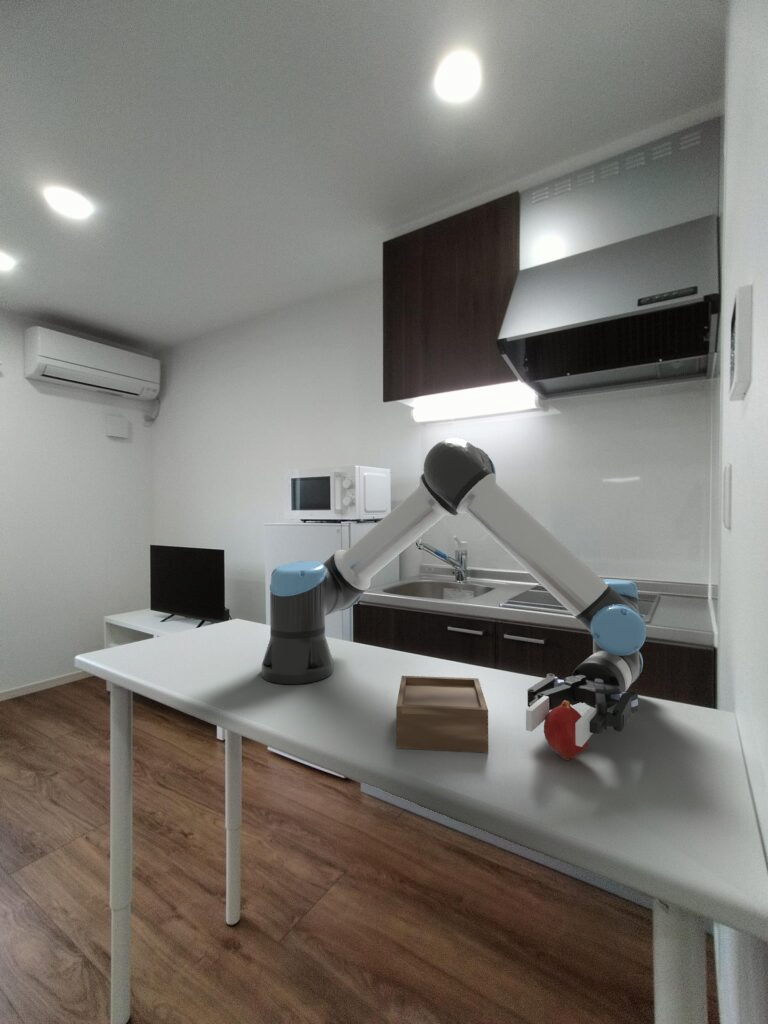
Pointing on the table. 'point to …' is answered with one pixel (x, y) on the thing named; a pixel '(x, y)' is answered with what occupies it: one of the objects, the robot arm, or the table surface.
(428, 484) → the robot arm
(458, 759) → the table surface
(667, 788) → the table surface
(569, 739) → the onion
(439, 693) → the walnut tray
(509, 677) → the table surface
